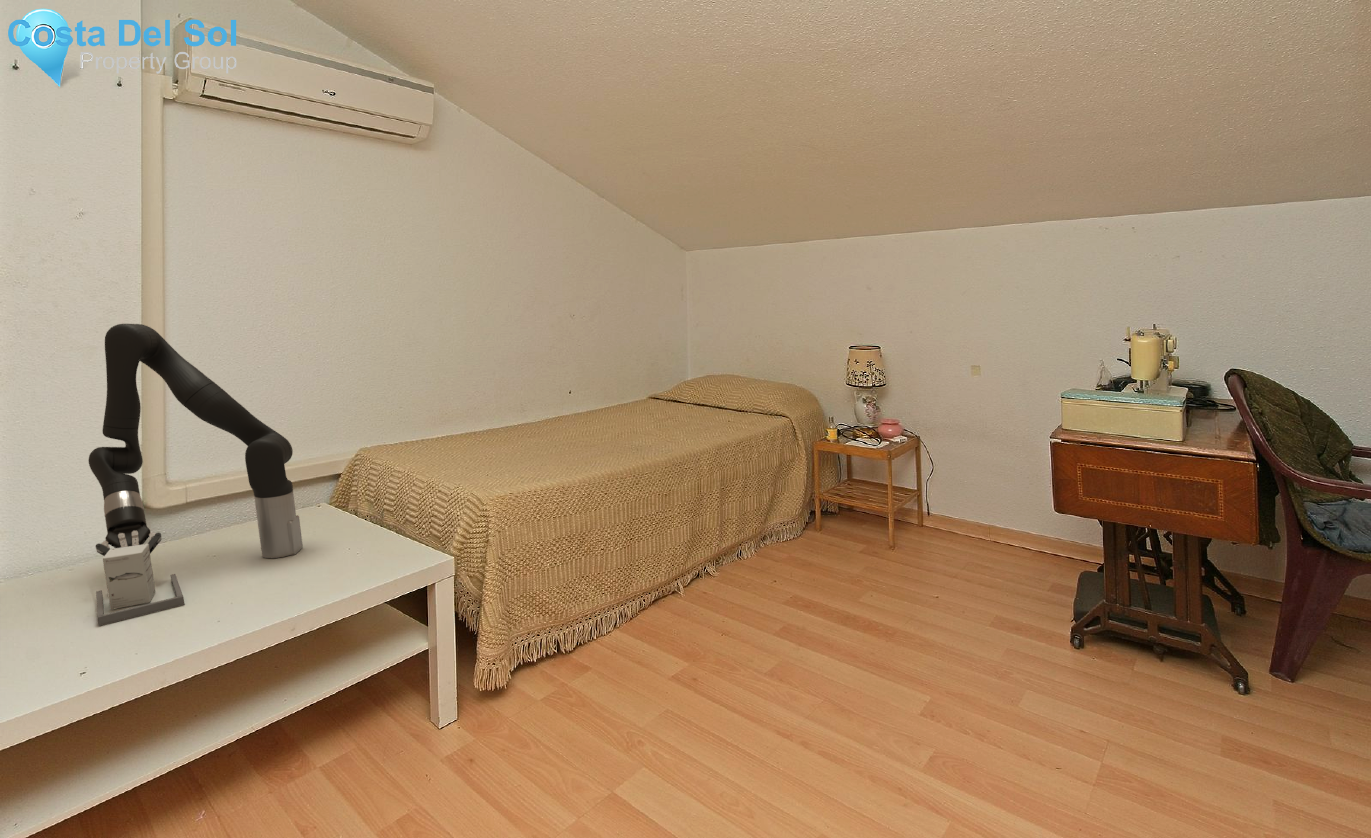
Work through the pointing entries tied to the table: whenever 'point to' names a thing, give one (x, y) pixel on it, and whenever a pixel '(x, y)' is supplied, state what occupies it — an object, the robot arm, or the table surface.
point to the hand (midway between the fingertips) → (134, 573)
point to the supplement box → (129, 576)
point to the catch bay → (138, 610)
